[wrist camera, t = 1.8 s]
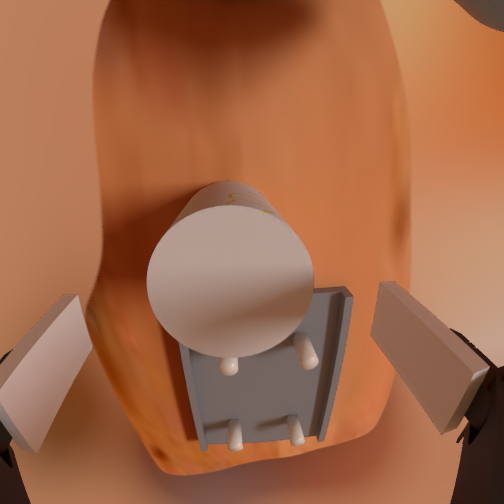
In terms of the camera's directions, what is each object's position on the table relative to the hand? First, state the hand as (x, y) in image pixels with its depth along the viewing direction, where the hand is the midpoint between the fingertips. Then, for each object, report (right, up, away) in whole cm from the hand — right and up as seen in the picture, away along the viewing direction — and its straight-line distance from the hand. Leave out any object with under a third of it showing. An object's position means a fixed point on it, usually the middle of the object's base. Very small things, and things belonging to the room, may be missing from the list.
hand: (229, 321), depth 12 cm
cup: (-1, +5, +14) cm, 15 cm away
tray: (+2, -11, +19) cm, 22 cm away
